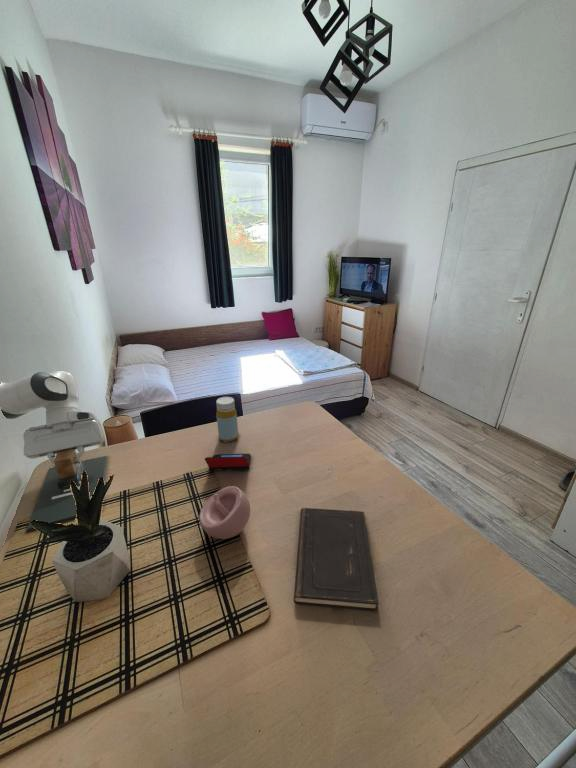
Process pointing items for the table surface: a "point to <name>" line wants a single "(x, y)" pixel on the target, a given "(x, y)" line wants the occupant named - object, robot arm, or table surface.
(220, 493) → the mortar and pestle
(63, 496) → the slate board
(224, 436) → the bottle
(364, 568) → the hardcover book
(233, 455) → the handheld console
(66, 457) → the tan rectangular block
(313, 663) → the table surface
